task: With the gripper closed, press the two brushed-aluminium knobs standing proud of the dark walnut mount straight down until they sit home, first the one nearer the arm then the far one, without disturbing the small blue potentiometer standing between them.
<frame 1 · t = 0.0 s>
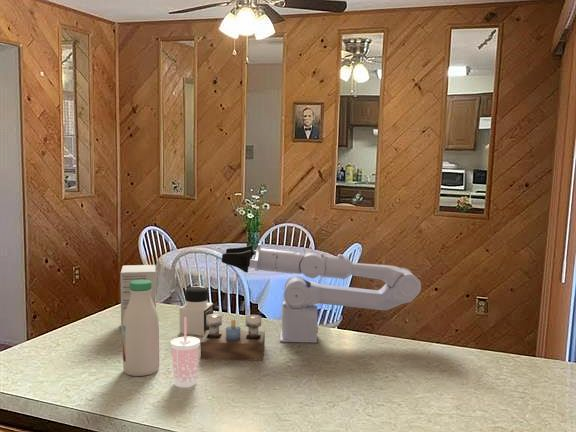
hand: (224, 255, 140), 22 cm above the countertop, tool horizontal, fingers open, 7 cm apart
medicine bottle: (196, 331, 146), on the countertop
beverage cup: (185, 383, 112), on the countertop
knob far: (214, 327, 129), point 6 cm above the countertop, slide at 0.0 cm
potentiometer: (233, 338, 128), point 4 cm above the countertop, touching mount
knob near: (253, 328, 129), point 6 cm above the countertop, slide at 0.0 cm
milk bottle: (141, 371, 118), on the countertop
mount: (233, 352, 130), on the countertop
supplement box: (139, 328, 147), on the countertop
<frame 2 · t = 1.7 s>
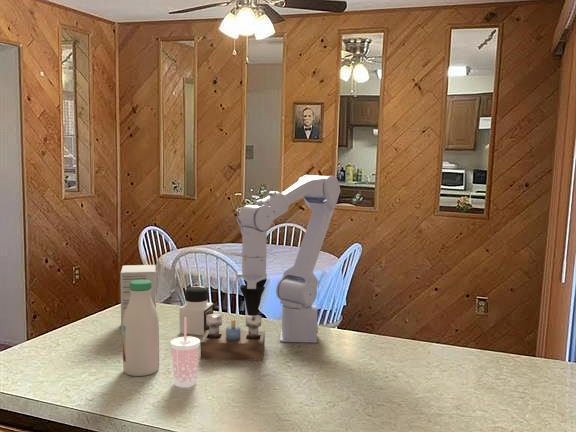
hand: (253, 311, 129), 10 cm above the countertop, tool pointing down, fingers open, 6 cm apart
nothing on the countertop moved.
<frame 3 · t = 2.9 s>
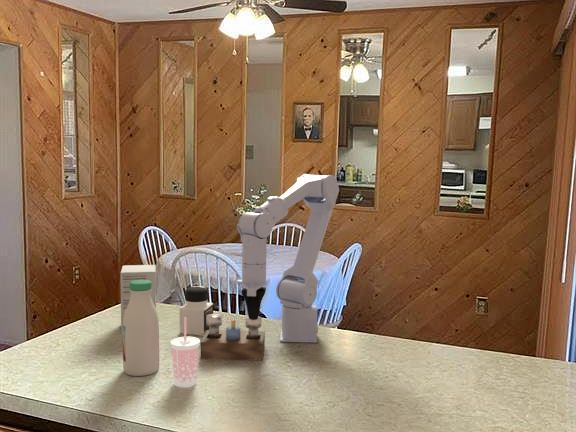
hand: (253, 318, 129), 9 cm above the countertop, tool pointing down, fingers closed, pressing on knob near
knob near: (253, 329, 129), point 6 cm above the countertop, slide at 0.3 cm, touching gripper
everything else where it was.
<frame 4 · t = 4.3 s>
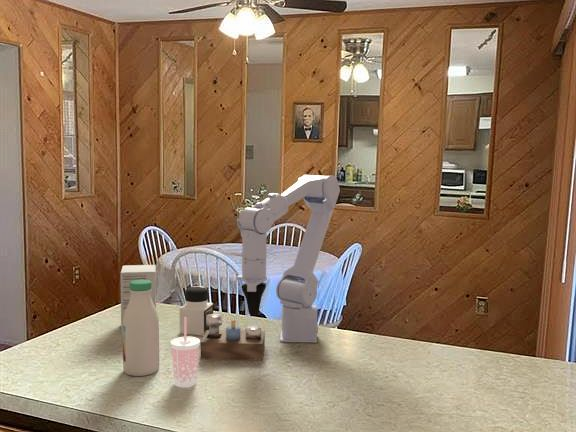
hand: (253, 313, 129), 10 cm above the countertop, tool pointing down, fingers closed
knob near: (253, 340, 129), point 3 cm above the countertop, slide at 2.9 cm
everything else where it was.
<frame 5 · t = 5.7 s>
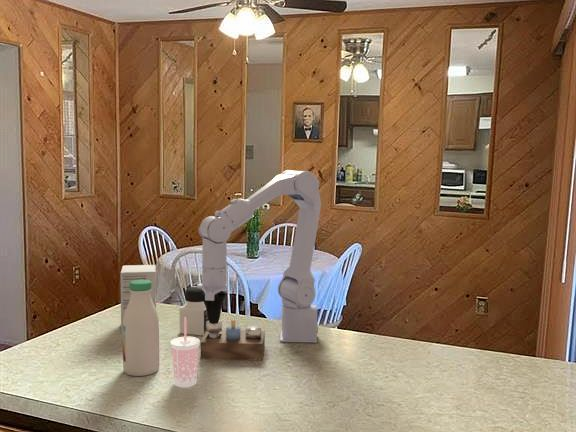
hand: (214, 322, 129), 7 cm above the countertop, tool pointing down, fingers closed, pressing on knob far
knob far: (214, 333, 129), point 5 cm above the countertop, slide at 1.5 cm, touching gripper
everything else where it was.
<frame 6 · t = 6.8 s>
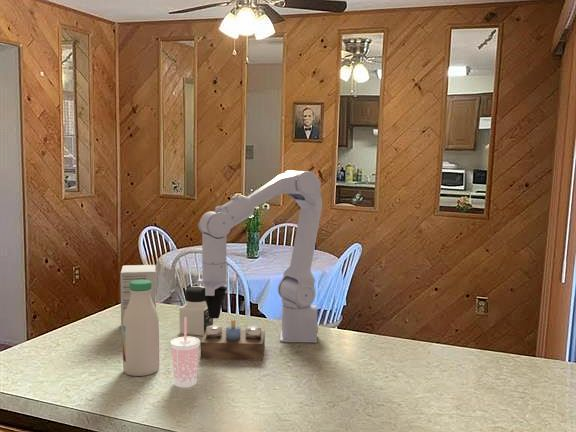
hand: (214, 317, 129), 9 cm above the countertop, tool pointing down, fingers closed
knob far: (214, 339, 130), point 3 cm above the countertop, slide at 2.9 cm
everything else where it was.
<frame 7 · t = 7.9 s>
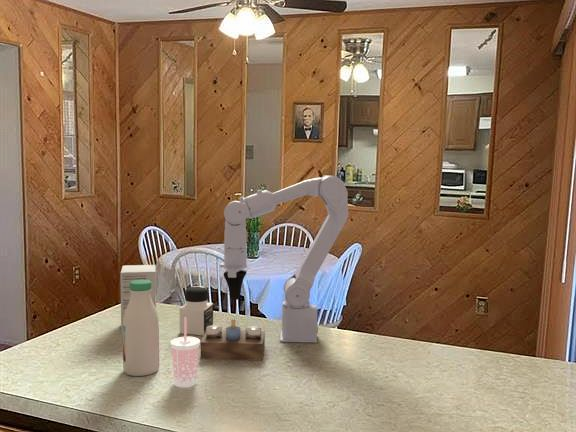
hand: (235, 298, 140), 10 cm above the countertop, tool pointing down, fingers closed
nothing on the countertop moved.
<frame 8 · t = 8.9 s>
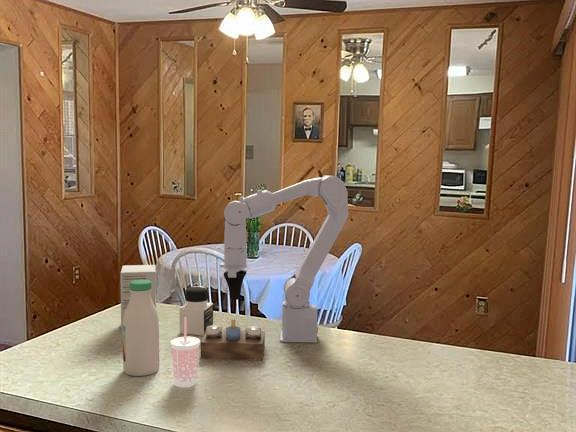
hand: (235, 298, 140), 10 cm above the countertop, tool pointing down, fingers closed
nothing on the countertop moved.
at the end: knob near slide at 2.9 cm; knob far slide at 2.9 cm; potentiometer moved 0.0 cm from its start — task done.
